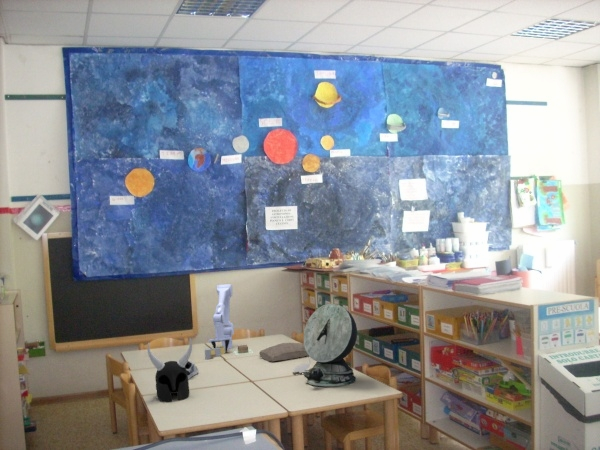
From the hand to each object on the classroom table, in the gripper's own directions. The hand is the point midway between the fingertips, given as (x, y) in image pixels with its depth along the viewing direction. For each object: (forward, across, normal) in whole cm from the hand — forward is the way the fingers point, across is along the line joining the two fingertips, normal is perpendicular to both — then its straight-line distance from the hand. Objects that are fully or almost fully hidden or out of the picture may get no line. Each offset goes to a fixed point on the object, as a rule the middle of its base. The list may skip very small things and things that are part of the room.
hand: (221, 352), depth 406 cm
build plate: (+1, +14, -4) cm, 15 cm away
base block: (+1, +14, -4) cm, 15 cm away
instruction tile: (+1, -6, -8) cm, 10 cm away
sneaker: (+2, -24, -48) cm, 54 cm away
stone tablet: (+2, +38, -27) cm, 47 cm away
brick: (+2, 0, 0) cm, 2 cm away
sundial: (+2, +46, -97) cm, 107 cm away
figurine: (+2, +39, -72) cm, 82 cm away
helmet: (+2, -34, -85) cm, 92 cm away
